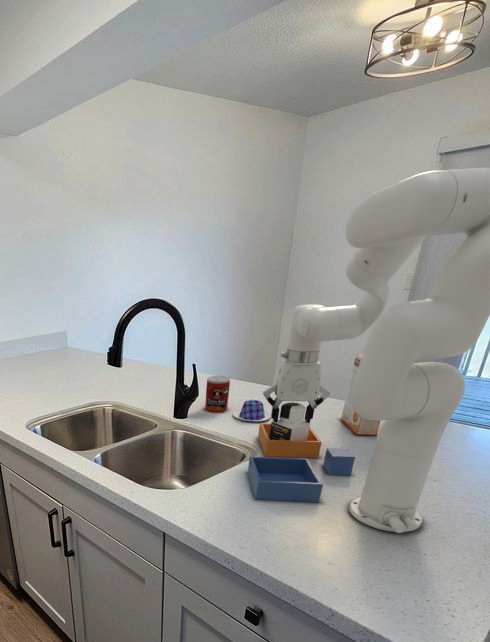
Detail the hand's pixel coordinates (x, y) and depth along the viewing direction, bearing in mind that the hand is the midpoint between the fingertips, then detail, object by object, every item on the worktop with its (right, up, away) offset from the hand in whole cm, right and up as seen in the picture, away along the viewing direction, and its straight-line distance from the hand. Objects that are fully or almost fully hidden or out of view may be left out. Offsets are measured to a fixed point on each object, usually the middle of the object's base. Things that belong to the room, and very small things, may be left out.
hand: (291, 420), depth 119 cm
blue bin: (-10, -18, -16) cm, 26 cm away
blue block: (+7, -14, -10) cm, 18 cm away
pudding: (-1, +4, +27) cm, 27 cm away
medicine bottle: (0, -7, +3) cm, 8 cm away
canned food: (-10, +9, +36) cm, 38 cm away
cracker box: (+27, 0, +14) cm, 31 cm away
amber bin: (0, -7, +4) cm, 8 cm away
